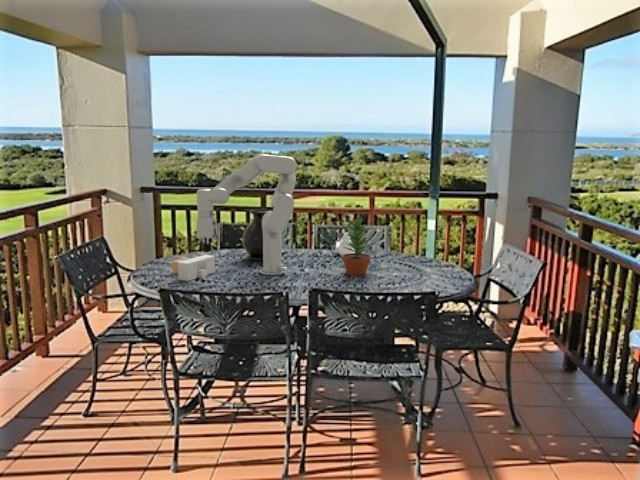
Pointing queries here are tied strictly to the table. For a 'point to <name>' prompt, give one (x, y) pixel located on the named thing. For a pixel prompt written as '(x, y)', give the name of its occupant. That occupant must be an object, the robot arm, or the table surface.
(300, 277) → the table surface
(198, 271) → the plug
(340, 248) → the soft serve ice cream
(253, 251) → the amphora vase
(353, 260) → the potted plant
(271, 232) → the robot arm
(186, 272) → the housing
